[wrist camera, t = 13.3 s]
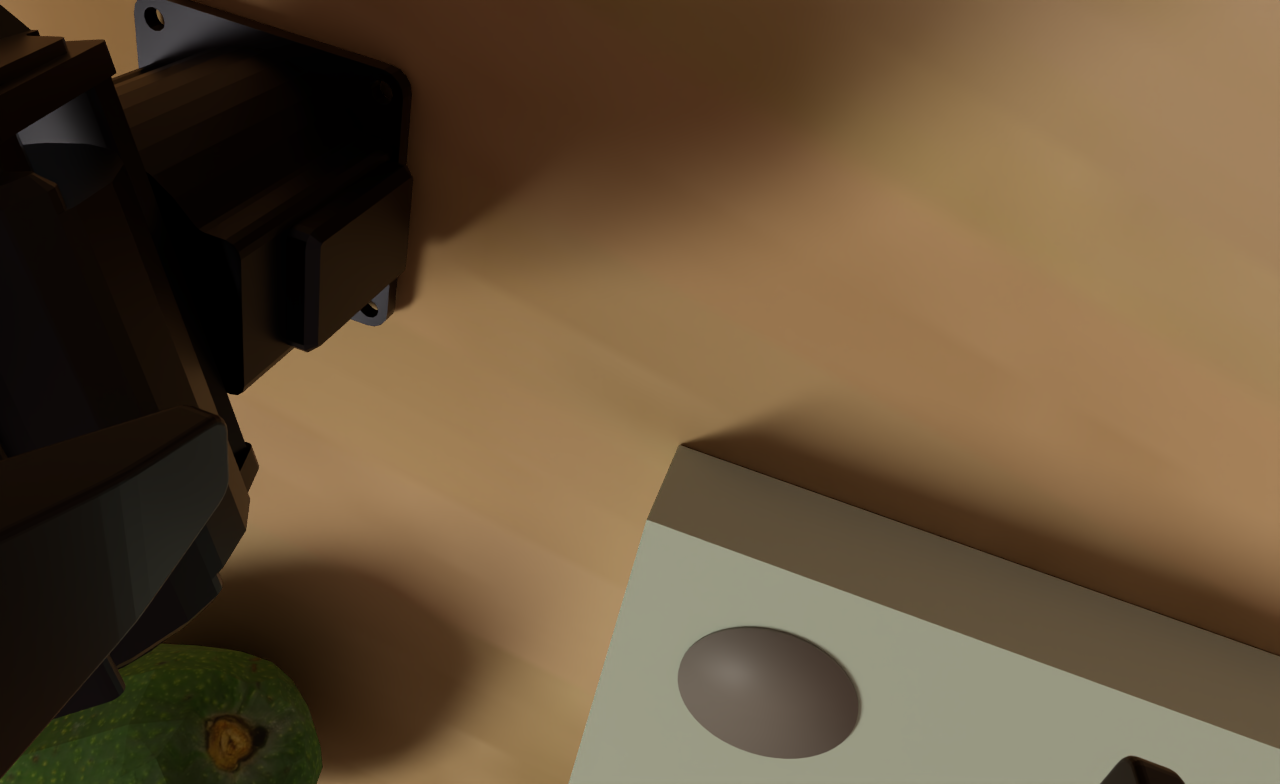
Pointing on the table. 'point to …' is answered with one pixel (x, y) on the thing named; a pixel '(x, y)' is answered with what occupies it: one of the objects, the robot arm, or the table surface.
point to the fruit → (183, 727)
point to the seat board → (895, 658)
